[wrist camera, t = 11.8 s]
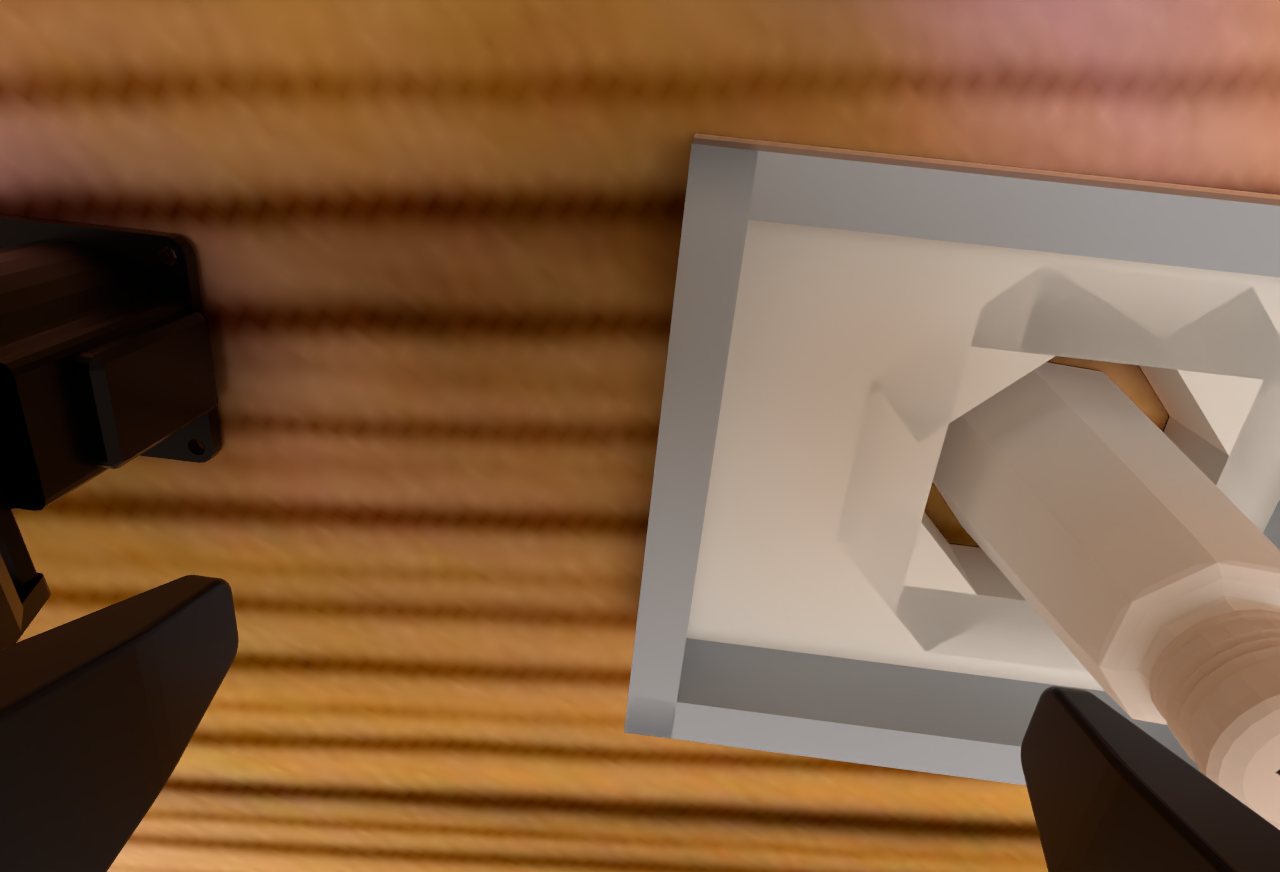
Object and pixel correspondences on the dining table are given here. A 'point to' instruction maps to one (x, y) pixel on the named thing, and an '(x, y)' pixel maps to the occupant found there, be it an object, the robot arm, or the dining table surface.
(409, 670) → the dining table surface
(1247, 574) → the pepper shaker
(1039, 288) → the bore box
